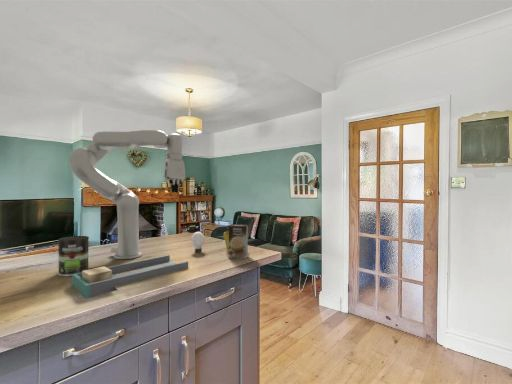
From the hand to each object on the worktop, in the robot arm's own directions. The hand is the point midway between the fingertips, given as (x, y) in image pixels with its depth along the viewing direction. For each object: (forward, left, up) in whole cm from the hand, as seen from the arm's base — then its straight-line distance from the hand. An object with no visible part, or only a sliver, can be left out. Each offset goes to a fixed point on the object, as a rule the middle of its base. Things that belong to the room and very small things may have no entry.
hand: (174, 192), depth 142 cm
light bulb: (+12, +2, -32) cm, 35 cm away
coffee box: (+35, -6, -32) cm, 48 cm away
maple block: (-7, -51, -31) cm, 60 cm away
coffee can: (-28, -36, -32) cm, 56 cm away
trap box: (0, -40, -32) cm, 51 cm away
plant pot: (+30, +8, -32) cm, 45 cm away
